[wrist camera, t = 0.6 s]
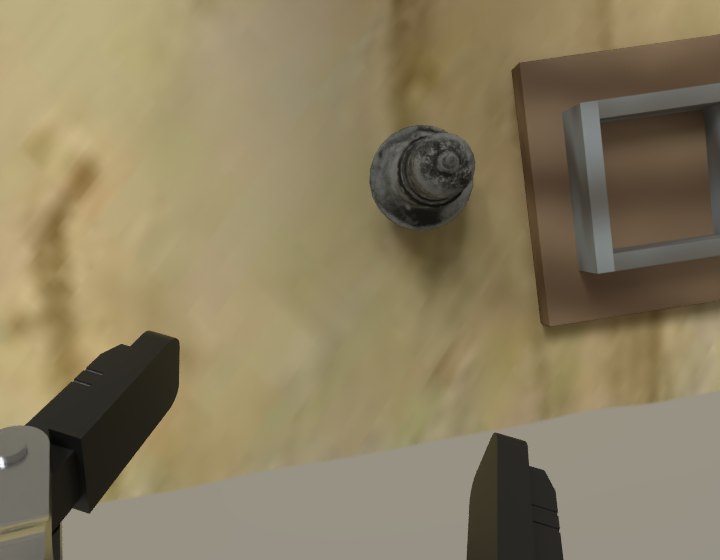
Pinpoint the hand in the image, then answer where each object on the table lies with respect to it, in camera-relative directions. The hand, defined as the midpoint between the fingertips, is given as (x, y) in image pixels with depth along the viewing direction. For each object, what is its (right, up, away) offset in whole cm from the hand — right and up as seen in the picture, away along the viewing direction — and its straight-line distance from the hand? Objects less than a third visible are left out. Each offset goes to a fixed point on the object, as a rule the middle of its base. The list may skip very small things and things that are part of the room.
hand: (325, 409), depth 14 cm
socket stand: (+18, +9, +21) cm, 30 cm away
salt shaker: (+4, +9, +21) cm, 23 cm away
